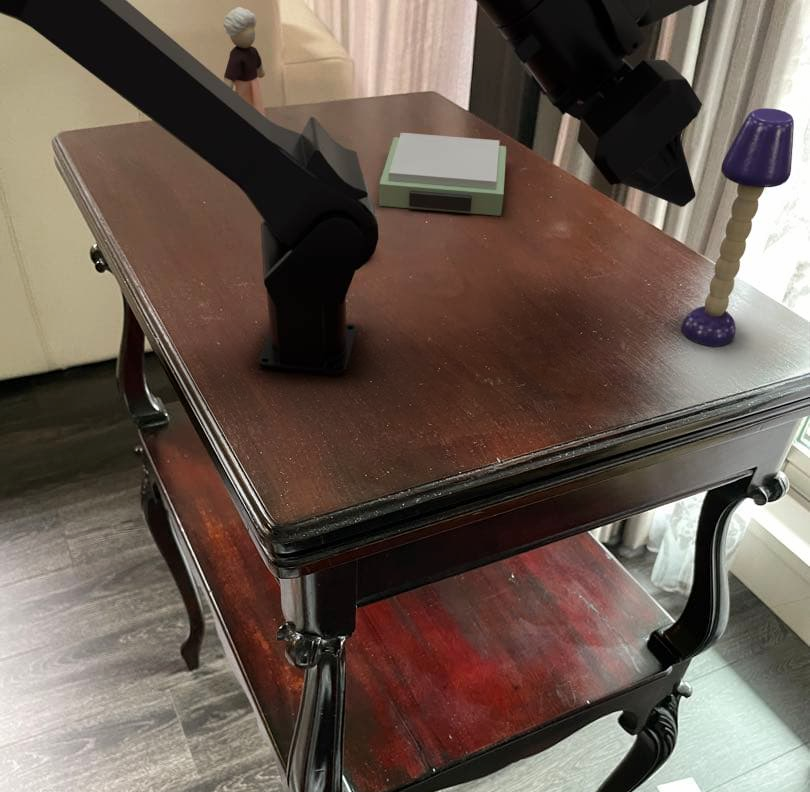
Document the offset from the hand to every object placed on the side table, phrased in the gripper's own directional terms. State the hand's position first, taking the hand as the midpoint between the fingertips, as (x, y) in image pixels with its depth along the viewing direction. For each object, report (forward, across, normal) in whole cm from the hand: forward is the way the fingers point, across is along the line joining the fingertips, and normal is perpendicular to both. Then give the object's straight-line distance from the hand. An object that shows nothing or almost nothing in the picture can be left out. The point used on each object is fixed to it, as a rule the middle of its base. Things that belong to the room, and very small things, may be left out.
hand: (663, 172), depth 58 cm
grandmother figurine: (-11, +42, +30) cm, 53 cm away
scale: (+2, +29, +16) cm, 33 cm away
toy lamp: (+14, 0, +4) cm, 15 cm away
